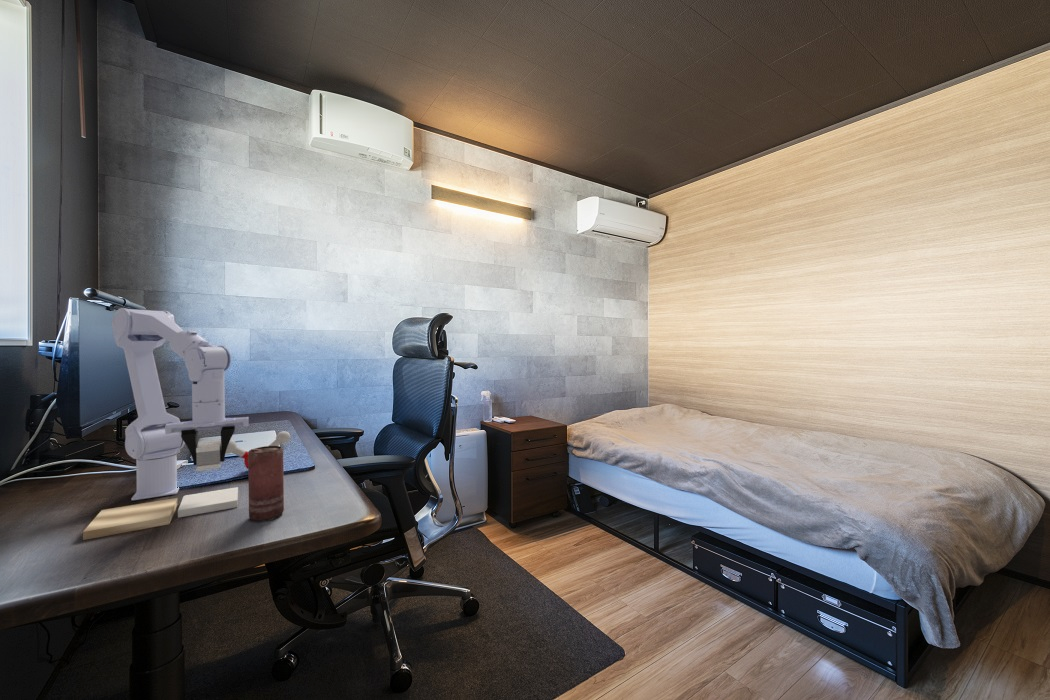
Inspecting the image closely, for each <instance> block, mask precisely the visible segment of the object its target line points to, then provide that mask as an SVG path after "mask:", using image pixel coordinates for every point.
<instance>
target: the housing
mask: <svg viewBox="0 0 1050 700" xmlns="http://www.w3.org/2000/svg"><path fill="white" fill-rule="evenodd" d="M220 455H221V438H220V439H212V440H211V439H210V440H201V441H199V440H198V445H197V447H196V457H197V465H196V472H203V471H211V470H219V469H221V467H222V466H221V465H222V462H221V461H220Z"/></svg>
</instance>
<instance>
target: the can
mask: <svg viewBox="0 0 1050 700" xmlns="http://www.w3.org/2000/svg"><path fill="white" fill-rule="evenodd" d="M247 452H248V469H247V471H248V477H247V478H248V517H249V519H250V520H251V521H253V522H256V523H257V522H259V523H260V522H267V521H268V522H269V521H271V520H275V519H277V518H279V517H280V516H282V514H283V513H284V511H285V498H284V495H285V493H284V492H285V490H284V487H285V486H284V481H285V479H284V450H283V448H282V447H281V445H279V446H269V445H266V446H265V445H264V446H260V447H259V446H258V447H254V448H251V449H249V451H247Z"/></svg>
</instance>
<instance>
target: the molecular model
mask: <svg viewBox="0 0 1050 700" xmlns="http://www.w3.org/2000/svg"><path fill="white" fill-rule="evenodd" d="M290 440H291V435H290V433H289V432H288V431H285V430H283V431H280V432H278V433H277V434H276V436H275V440H274V441H272V442H271V443H270V444H269V445H268V446H281V445H285V444H287V443H288V442H290ZM248 452H249V451H246V450H244V449H242V448H240V447H238V445H237V442H236V441H235V440H233V439H230V441H229V444H228V446H227V449H226V453H225V455H228V454H233V455H236V456H237V457H240V458H241V459H244V462H243V463H244V466H245V468H246V469H247V470H248Z"/></svg>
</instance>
